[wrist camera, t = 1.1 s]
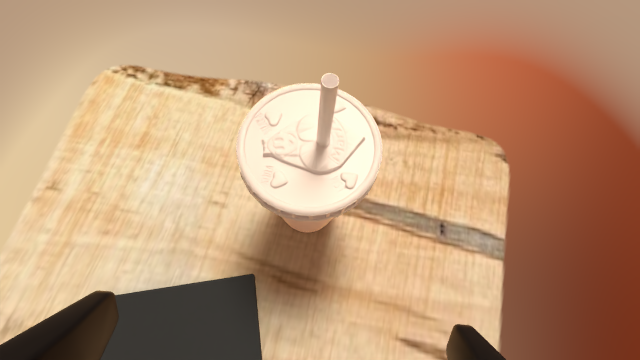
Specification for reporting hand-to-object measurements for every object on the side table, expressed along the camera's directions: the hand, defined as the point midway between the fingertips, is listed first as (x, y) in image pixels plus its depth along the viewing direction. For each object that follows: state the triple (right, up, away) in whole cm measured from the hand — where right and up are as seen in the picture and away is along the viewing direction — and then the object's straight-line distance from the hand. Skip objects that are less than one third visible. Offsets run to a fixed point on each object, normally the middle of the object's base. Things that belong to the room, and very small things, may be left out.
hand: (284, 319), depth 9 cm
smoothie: (0, +2, +15) cm, 15 cm away
